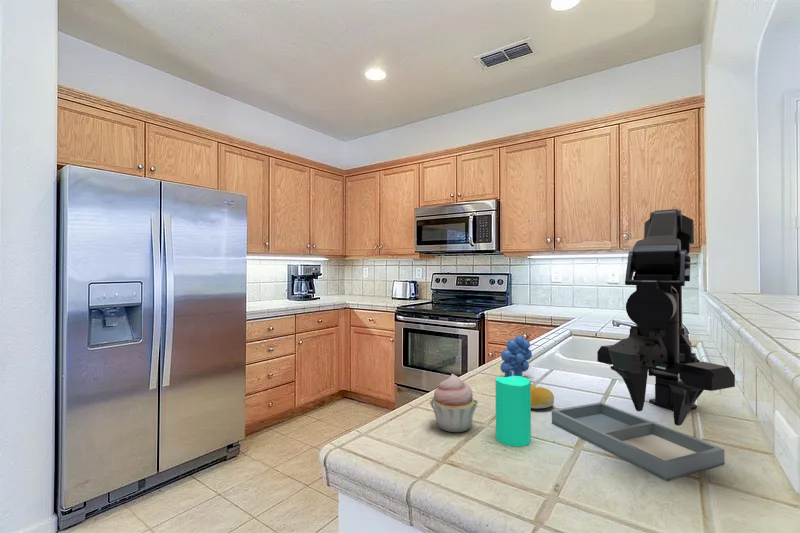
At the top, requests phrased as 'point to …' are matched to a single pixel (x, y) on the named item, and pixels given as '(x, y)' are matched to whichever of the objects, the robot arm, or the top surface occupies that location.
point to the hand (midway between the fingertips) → (657, 417)
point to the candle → (513, 410)
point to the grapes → (516, 356)
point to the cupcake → (453, 405)
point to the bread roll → (541, 397)
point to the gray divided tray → (639, 440)
